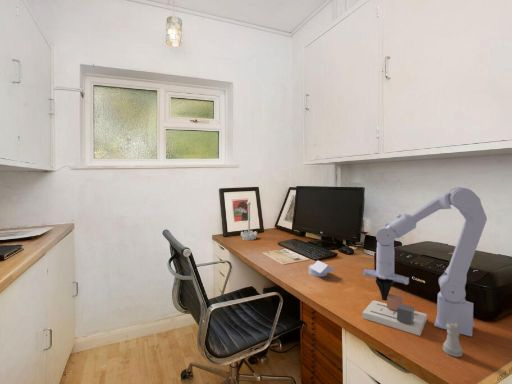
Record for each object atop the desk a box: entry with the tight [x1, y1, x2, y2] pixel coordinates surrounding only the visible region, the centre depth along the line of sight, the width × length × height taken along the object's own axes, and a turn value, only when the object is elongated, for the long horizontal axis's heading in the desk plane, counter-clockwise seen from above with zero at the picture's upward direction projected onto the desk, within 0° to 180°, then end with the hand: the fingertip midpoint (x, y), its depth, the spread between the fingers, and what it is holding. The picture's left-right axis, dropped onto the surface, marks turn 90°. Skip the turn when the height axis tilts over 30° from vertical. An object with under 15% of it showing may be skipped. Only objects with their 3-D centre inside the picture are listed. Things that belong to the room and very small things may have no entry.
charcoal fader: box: [397, 303, 415, 324], centre depth 87 cm, size 4×4×4 cm
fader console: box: [361, 299, 428, 336], centre depth 92 cm, size 17×12×2 cm
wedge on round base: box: [308, 260, 336, 277], centre depth 136 cm, size 9×7×13 cm
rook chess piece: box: [442, 321, 464, 358], centre depth 74 cm, size 4×4×8 cm
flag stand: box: [240, 201, 258, 241], centre depth 220 cm, size 13×13×30 cm
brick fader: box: [386, 292, 404, 311], centre depth 95 cm, size 4×4×4 cm
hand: (384, 299), depth 97 cm, fingers closed
